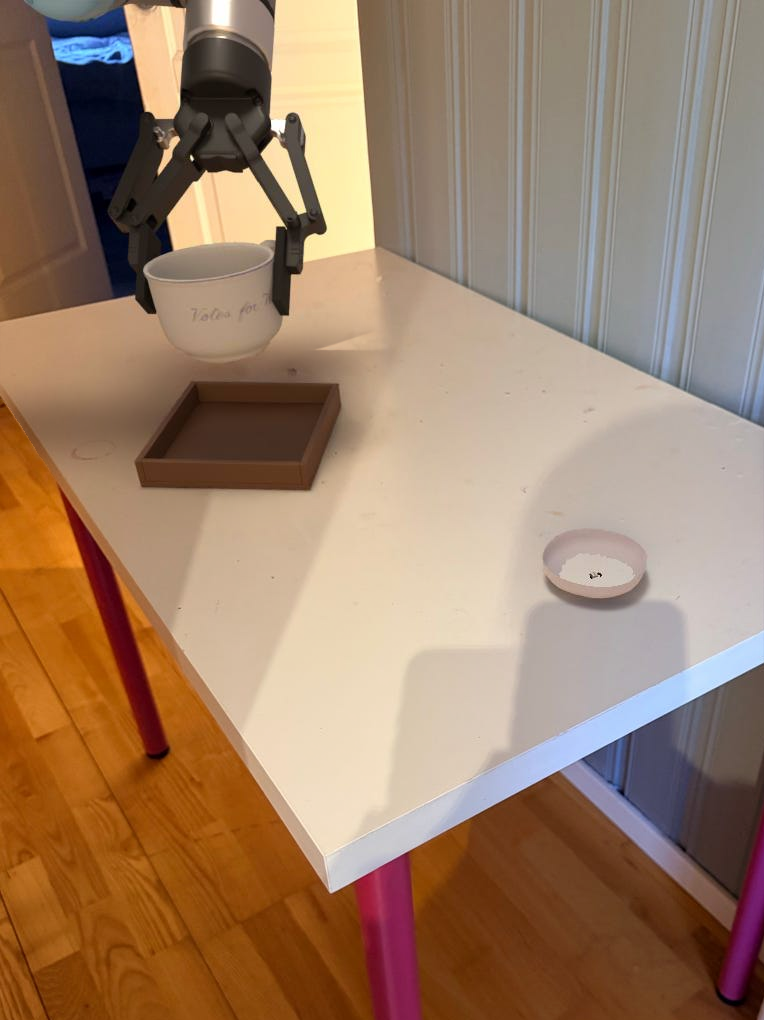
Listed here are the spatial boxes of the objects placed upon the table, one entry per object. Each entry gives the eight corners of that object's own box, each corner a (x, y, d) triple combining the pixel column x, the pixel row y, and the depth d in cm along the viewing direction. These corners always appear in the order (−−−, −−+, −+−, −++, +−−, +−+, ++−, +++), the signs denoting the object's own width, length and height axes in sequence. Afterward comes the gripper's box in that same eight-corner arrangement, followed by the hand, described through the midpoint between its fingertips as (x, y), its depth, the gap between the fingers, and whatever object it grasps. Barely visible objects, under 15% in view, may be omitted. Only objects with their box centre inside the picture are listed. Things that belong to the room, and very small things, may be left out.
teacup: (205, 386, 75) (185, 286, 70) (140, 350, 81) (117, 256, 76) (341, 340, 82) (331, 247, 77) (272, 310, 88) (259, 222, 83)
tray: (140, 486, 82) (134, 461, 80) (195, 403, 95) (191, 380, 93) (309, 489, 81) (306, 464, 79) (341, 406, 94) (338, 383, 93)
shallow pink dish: (664, 594, 69) (667, 574, 67) (567, 617, 66) (568, 596, 65) (615, 540, 74) (617, 520, 73) (525, 560, 72) (525, 539, 71)
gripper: (367, 95, 83) (357, 328, 80) (114, 94, 83) (97, 325, 81) (353, 32, 75) (341, 287, 73) (75, 31, 76) (55, 284, 74)
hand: (213, 307), depth 77 cm, fingers closed on teacup, 11 cm apart
